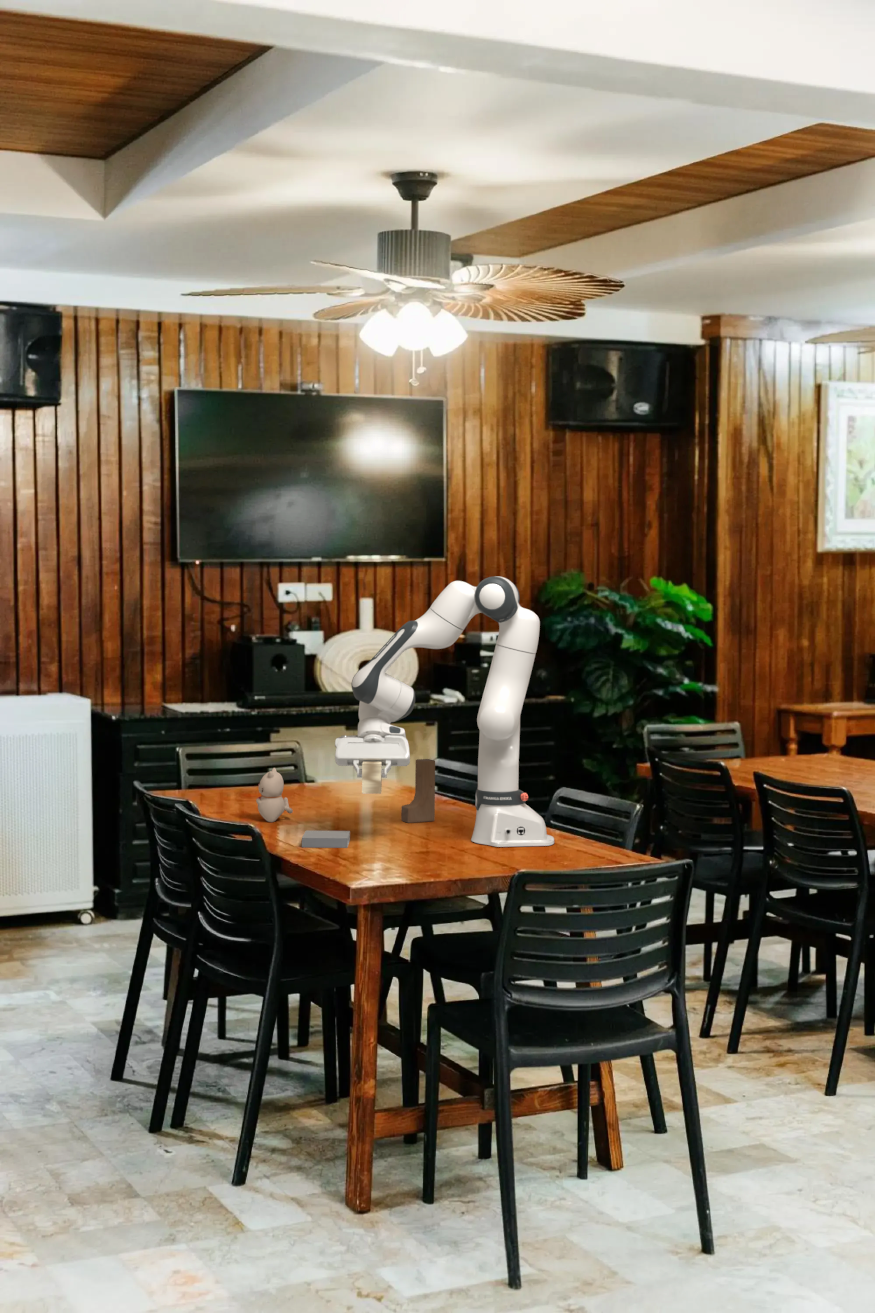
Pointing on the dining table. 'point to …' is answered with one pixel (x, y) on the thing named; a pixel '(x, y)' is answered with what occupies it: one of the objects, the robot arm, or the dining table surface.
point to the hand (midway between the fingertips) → (371, 776)
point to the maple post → (371, 777)
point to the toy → (272, 796)
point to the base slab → (326, 839)
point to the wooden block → (422, 794)
